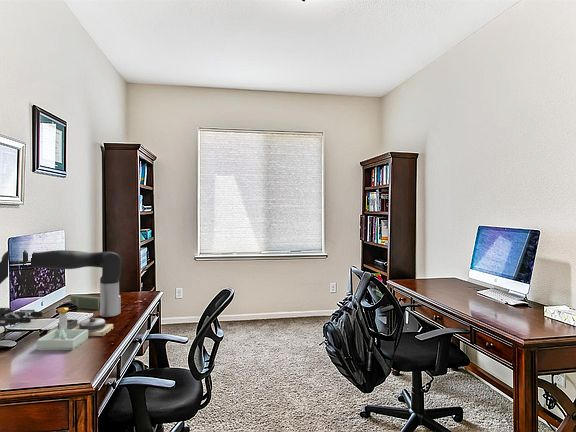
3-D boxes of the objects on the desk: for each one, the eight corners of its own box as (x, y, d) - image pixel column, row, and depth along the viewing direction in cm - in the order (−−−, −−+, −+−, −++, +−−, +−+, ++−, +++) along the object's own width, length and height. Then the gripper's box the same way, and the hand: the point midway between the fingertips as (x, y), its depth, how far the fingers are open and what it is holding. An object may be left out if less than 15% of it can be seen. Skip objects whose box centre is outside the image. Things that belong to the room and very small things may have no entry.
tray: (55, 338, 176) (55, 329, 176) (88, 338, 176) (88, 329, 176) (36, 350, 162) (36, 340, 162) (72, 350, 162) (72, 340, 162)
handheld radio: (74, 305, 233) (110, 309, 226) (69, 307, 230) (106, 311, 223) (74, 294, 233) (110, 297, 226) (69, 295, 229) (106, 299, 222)
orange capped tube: (65, 339, 172) (65, 306, 171) (70, 341, 170) (70, 308, 169) (56, 342, 168) (55, 308, 168) (61, 344, 166) (60, 310, 166)
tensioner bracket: (47, 336, 178) (47, 322, 178) (61, 328, 190) (61, 315, 190) (102, 336, 180) (102, 322, 179) (113, 328, 192) (113, 315, 191)
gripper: (-17, 312, 160) (26, 312, 161) (7, 303, 174) (45, 303, 175) (-16, 331, 160) (26, 331, 161) (7, 321, 175) (45, 321, 175)
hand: (36, 317), depth 168 cm, fingers open, 8 cm apart
